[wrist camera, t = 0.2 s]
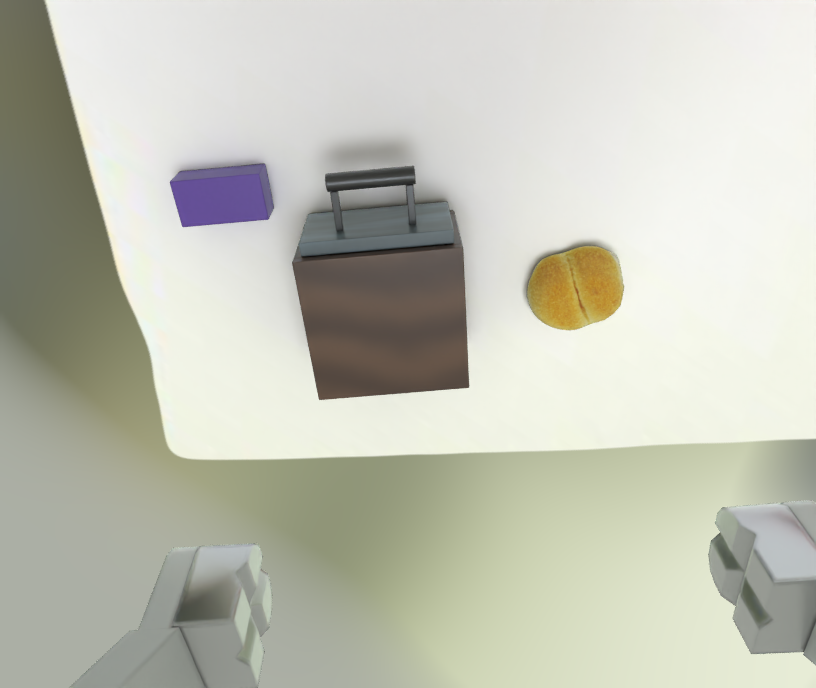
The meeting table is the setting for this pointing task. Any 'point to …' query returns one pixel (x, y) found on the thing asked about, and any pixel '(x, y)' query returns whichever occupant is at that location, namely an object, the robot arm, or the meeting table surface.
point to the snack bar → (222, 195)
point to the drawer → (375, 218)
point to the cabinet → (385, 320)
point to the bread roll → (576, 287)
